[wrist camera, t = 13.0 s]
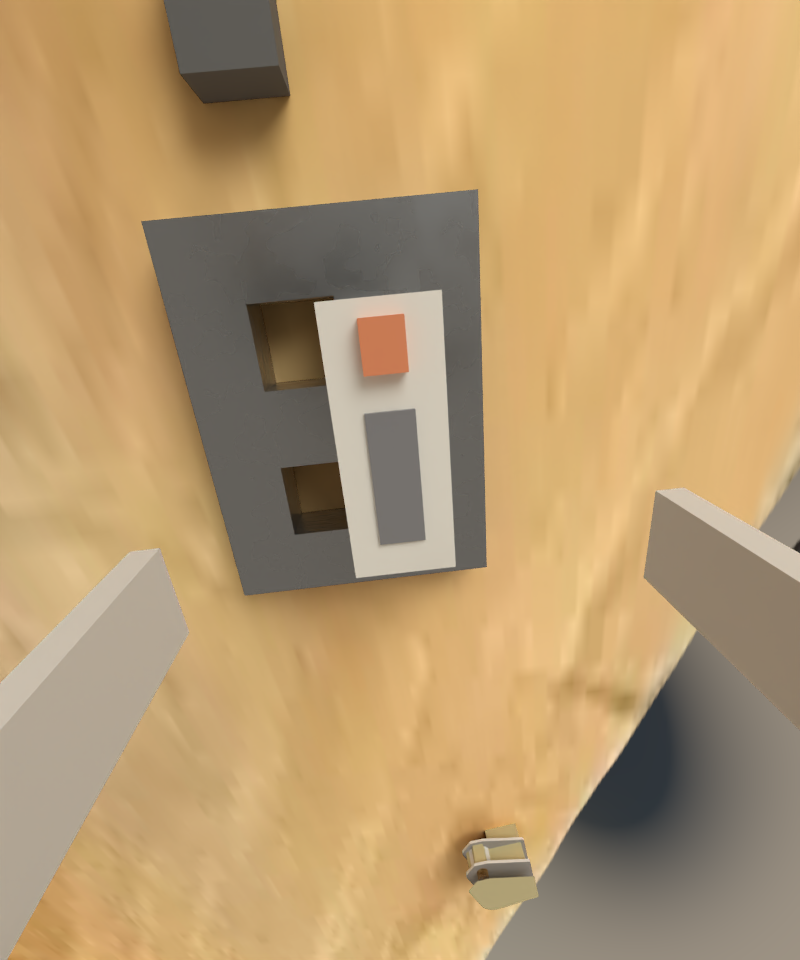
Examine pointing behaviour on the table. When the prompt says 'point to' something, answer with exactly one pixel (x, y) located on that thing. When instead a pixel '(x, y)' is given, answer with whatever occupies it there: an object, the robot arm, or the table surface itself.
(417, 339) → the light grey box
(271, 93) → the block
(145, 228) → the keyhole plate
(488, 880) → the building
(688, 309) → the table surface
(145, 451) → the table surface
